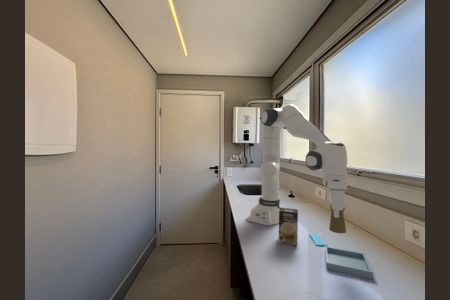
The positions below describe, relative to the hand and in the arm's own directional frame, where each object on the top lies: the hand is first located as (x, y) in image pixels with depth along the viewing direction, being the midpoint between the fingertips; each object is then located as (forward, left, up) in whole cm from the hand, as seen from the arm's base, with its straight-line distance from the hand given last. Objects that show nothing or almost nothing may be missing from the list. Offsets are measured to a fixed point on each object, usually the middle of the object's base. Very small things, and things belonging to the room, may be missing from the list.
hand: (335, 214), depth 81 cm
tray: (+4, +1, -20) cm, 20 cm away
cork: (+1, 0, -7) cm, 7 cm away
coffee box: (-20, +11, -20) cm, 30 cm away
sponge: (-6, +18, -21) cm, 28 cm away
